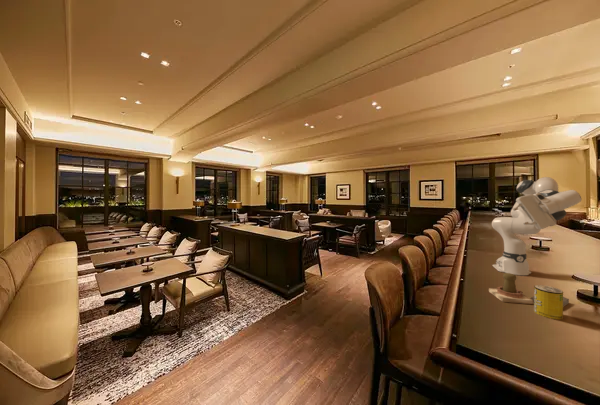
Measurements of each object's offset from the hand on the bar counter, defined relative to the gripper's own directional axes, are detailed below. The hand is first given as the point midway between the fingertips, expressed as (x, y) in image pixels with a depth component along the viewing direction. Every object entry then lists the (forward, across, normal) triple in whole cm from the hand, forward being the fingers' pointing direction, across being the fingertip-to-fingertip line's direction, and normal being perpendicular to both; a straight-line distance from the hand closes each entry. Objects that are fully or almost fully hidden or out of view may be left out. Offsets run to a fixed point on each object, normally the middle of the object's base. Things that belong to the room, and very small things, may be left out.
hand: (518, 216), depth 132 cm
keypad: (+15, -44, +4) cm, 46 cm away
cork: (+28, -35, +3) cm, 45 cm away
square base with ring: (+28, -36, +3) cm, 46 cm away
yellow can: (+24, -44, +18) cm, 53 cm away
